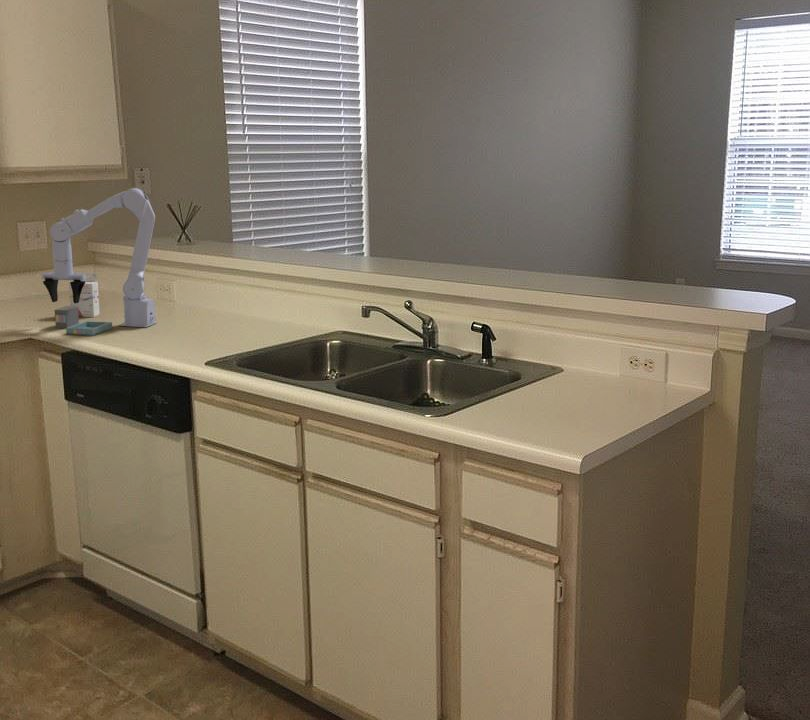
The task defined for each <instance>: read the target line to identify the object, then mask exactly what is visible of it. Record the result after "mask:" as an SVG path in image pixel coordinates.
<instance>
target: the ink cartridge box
mask: <svg viewBox="0 0 810 720" xmlns="http://www.w3.org/2000/svg"><path fill="white" fill-rule="evenodd" d="M74 273H76V274H84V275H86V281H85V284H84V286H83V288H82V291H81V294H80V299H79V303H74V302H73V292H72V288H71V285H70V282H69V283H68V290H69V291H68V292H69V293H68V294H69V306H73V307H78V318H79V317H81V318H82V317H83V318H95V317H98V316H99V315H100V300H99V299H100V298H99V284H98V283H99V282H98V277H97V275H98V274H97V273H96V272H84V271H81V272H80V271H79V272H76V271H74Z"/></svg>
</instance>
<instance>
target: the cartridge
mask: <svg viewBox="0 0 810 720" xmlns="http://www.w3.org/2000/svg"><path fill="white" fill-rule="evenodd" d="M54 321H55V322H54V323H55V329H64V328H65V330H66V328H67V327H70V326H73V325H76V324H79V323H80V322H79V321H80V320H79V316H78V307H73V306H70V305H69V306H68V305H66V306H62V307H59V308H56V309H54Z"/></svg>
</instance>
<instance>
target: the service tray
mask: <svg viewBox="0 0 810 720" xmlns="http://www.w3.org/2000/svg"><path fill="white" fill-rule="evenodd" d="M111 329H113V322H111V321H97V320H93V321H92V320H86V321H85V320H84V321H82V322H79V324H76V325H73V326H70V327H67V328H66V329H65V333H66V335H71V336H75V335H76V336H86V337H88V336H89V337H90V336H91V337H93V336H97V335H100V334H101V333H104V332H107V331H109V330H111Z"/></svg>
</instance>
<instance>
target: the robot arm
mask: <svg viewBox="0 0 810 720" xmlns="http://www.w3.org/2000/svg"><path fill="white" fill-rule="evenodd" d="M124 207H125V208H127V209H128V210H130V211H131V212H132V213H133V214H134V215H135V216H136V218H137V219H138V221H139V223H138V227H137V233H136V239H135V243H134V249H133V252H132V256H131V257H132V258H131V262H130V263H131V264H130V267H129V268H130V269H129V273H128V277H127V279H126V280H125V282H124V283H123V285H122V292H123V295H124V296H123V314H124V315H123V317H124V322H122V323H120V324H119V326H120V327H131V328H132V327H134V328H147V327H150V326H152V325H155V324H157V323H158V321H156V303H155V301H154V300H153V299H152V298H147V295H146V294H145V293H144V291H145V288H146V281H145V273H146V266H147V261H148V256H149V251H150V246H151V241H152V236H153V231H154V227H155V222H156V214H155V212H154V209H153V207H152V205H151V202H150V199H149V197H148V196H147V195H146V193H145V192H144V191H143V190H141V189H140V188H138V187H132V188H129V189H127V190H125V191H121V192H119V193H117V194H114V195H112V196H110V197H108V198H107V199H105V200H103V201H101V202H100V203H99V204H96V205H95V206H93V207H92V208H90V209H88V210H86V209H83V208H81V209H75V210H74V211H73V213H72V214H70V215H68V216H67V217H62V218H61V219H60V221H59V222H58V221H57V222H55V223H54V224H53V225H52V226H50V229H49V235H50V237H51V239H52V240H51V243H52V246H51V247H52V248H51V249H52V259H53V260H52V261H53V264H52V265H53V272H42V273H41V280H43V281H42V283H43V285H44V286H45V288H46V290H47V291H48V294H49V296H50V299H51V303H55V302H58V298H59V297H58V296H59V295H58V285H59V281H69V283H70V285H71V288H72V292H73V302H74V303H79V299H80V294H81V291H82V288H83V286H84V284H85V281H86V278H87V275H84V274H76V273H75V272H74V265H73V254H72V249H73V248H72V244H71V237H72V235H76V234H78V233H80V232H82V231H83V230H85V229H87V228H89V227H91V226H92V225H93V222H94V219H96V218H98V217H99V216H102V215H103V214H105V213H107V212H109V211H111V210H113V209H124Z"/></svg>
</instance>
